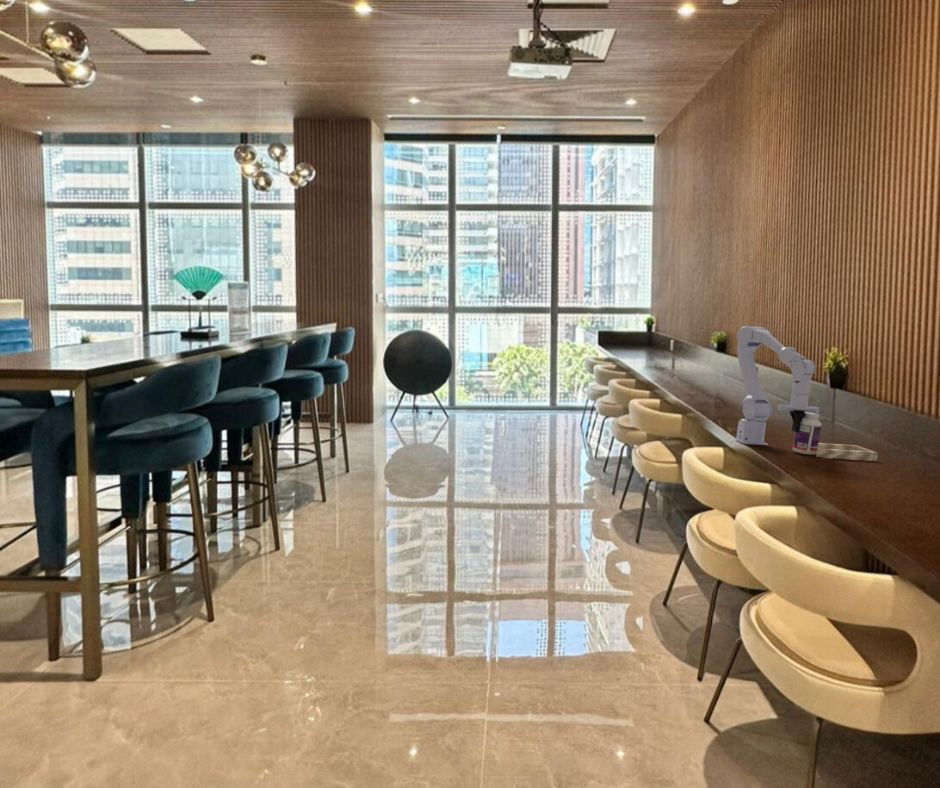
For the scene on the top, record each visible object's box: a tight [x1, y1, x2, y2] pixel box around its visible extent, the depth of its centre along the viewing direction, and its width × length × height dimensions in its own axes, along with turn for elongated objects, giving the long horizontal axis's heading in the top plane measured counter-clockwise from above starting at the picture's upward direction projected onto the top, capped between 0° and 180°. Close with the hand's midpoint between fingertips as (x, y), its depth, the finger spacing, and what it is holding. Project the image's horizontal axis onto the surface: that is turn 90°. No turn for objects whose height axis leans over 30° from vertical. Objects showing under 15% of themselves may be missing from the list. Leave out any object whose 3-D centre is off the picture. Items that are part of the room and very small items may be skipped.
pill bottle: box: [792, 412, 822, 456], centre depth 280 cm, size 8×8×14 cm
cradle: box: [815, 442, 879, 462], centre depth 282 cm, size 22×13×3 cm, turn 94°
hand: (795, 431), depth 280 cm, fingers closed, pressing on pill bottle
